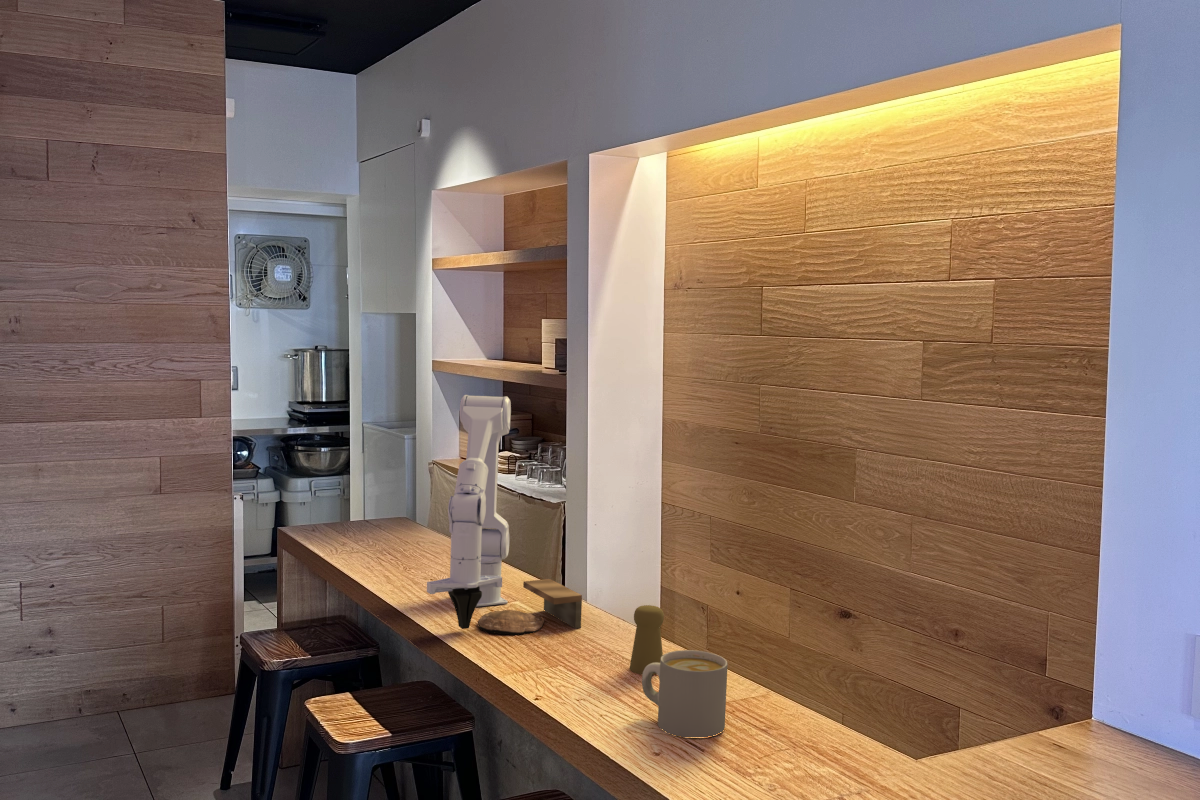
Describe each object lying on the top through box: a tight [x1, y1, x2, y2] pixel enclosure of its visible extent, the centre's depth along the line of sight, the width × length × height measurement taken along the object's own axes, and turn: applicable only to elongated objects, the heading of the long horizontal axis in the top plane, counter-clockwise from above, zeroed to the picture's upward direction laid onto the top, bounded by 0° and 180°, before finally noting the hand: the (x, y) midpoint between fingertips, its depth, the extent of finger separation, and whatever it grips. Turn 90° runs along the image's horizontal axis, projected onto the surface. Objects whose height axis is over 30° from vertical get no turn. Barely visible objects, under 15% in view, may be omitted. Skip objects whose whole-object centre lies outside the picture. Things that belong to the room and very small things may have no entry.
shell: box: [477, 609, 545, 637], centre depth 203 cm, size 12×13×4 cm
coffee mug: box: [641, 649, 728, 737], centre depth 156 cm, size 13×10×10 cm
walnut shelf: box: [522, 578, 583, 629], centre depth 208 cm, size 14×6×6 cm, turn 29°
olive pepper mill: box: [628, 604, 665, 676], centre depth 180 cm, size 6×6×11 cm
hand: (463, 627), depth 198 cm, fingers closed
